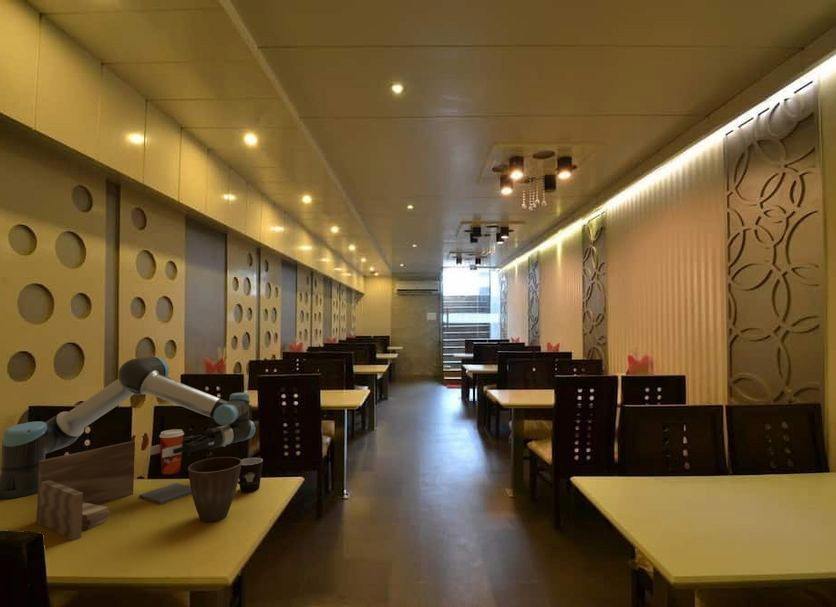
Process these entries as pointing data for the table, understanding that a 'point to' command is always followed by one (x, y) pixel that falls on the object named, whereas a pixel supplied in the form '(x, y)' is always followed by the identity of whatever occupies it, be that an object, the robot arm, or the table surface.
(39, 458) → the robot arm
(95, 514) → the offcut stack
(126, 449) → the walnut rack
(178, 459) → the paper cup
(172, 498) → the rubber mat
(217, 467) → the plant pot
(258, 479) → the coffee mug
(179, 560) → the table surface
